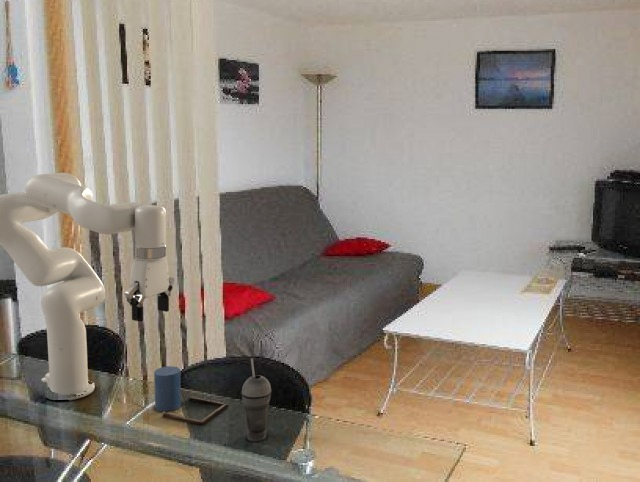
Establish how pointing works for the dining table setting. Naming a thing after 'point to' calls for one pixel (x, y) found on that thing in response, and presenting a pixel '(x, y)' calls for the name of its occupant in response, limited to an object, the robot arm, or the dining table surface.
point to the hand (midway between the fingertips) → (150, 315)
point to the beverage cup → (256, 405)
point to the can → (167, 388)
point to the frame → (194, 421)
